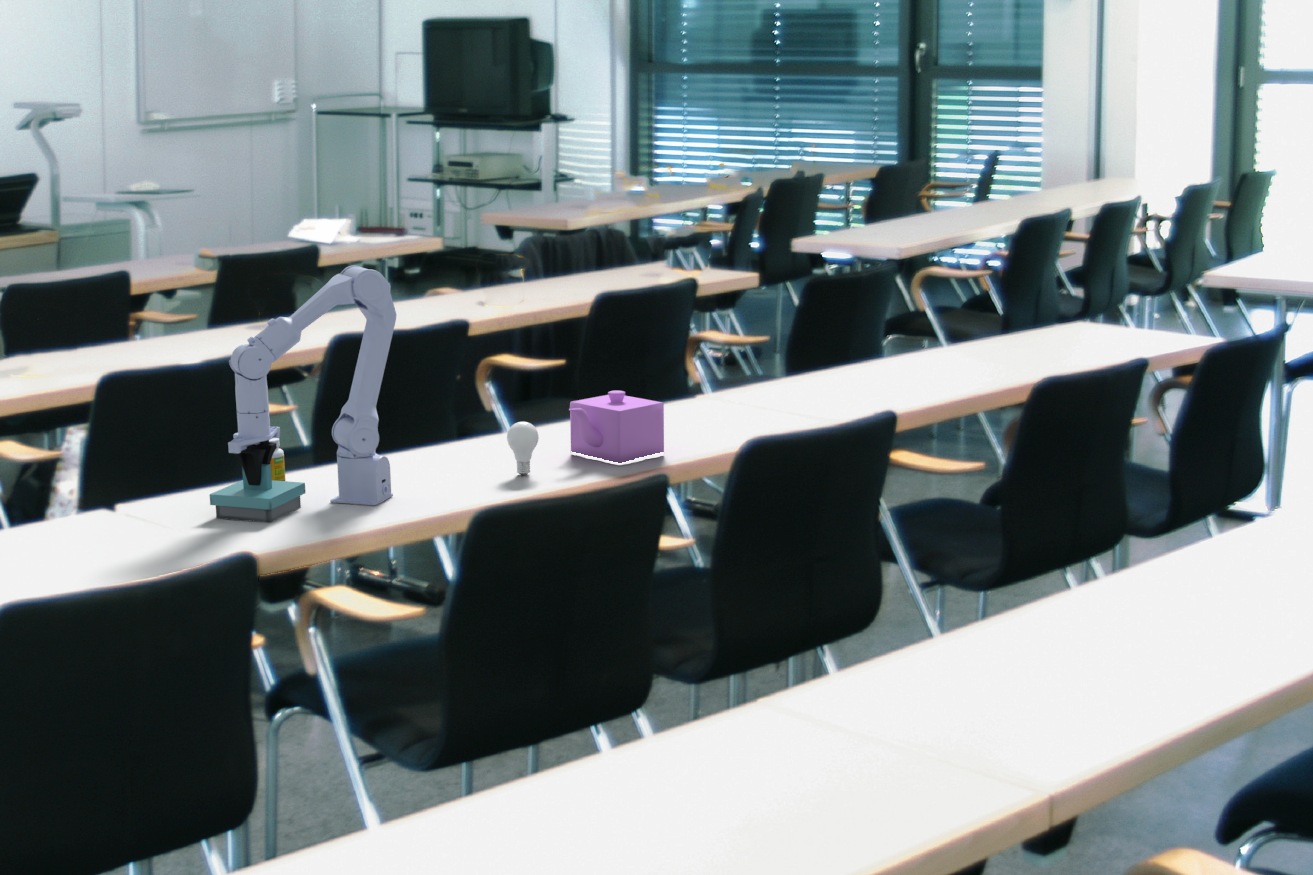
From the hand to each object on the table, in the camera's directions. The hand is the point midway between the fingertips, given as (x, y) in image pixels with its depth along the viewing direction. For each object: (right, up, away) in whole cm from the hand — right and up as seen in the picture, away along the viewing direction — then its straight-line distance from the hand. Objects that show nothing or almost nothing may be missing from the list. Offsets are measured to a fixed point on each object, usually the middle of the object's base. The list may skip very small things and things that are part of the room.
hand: (257, 483), depth 287 cm
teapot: (+64, +4, +45) cm, 79 cm away
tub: (0, -5, +1) cm, 6 cm away
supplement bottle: (-2, -2, +20) cm, 21 cm away
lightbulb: (+46, +1, +29) cm, 55 cm away
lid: (0, -3, +1) cm, 3 cm away
